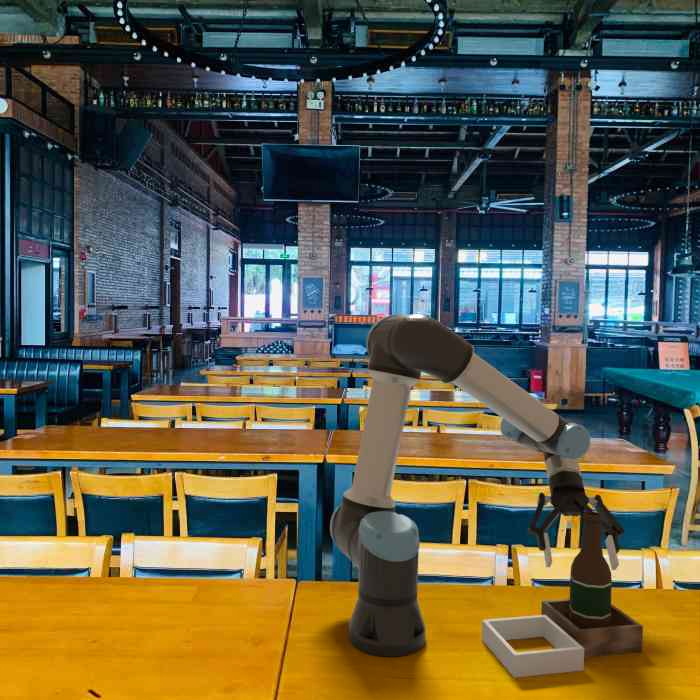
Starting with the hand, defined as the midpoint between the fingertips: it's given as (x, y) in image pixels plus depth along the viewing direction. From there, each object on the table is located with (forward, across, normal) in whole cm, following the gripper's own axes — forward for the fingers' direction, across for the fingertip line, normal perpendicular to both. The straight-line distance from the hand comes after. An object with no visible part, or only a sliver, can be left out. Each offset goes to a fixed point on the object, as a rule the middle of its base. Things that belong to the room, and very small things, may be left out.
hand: (582, 566), depth 132 cm
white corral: (+19, +14, +2) cm, 23 cm away
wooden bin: (+13, 0, -3) cm, 14 cm away
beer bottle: (+13, 0, -3) cm, 13 cm away
